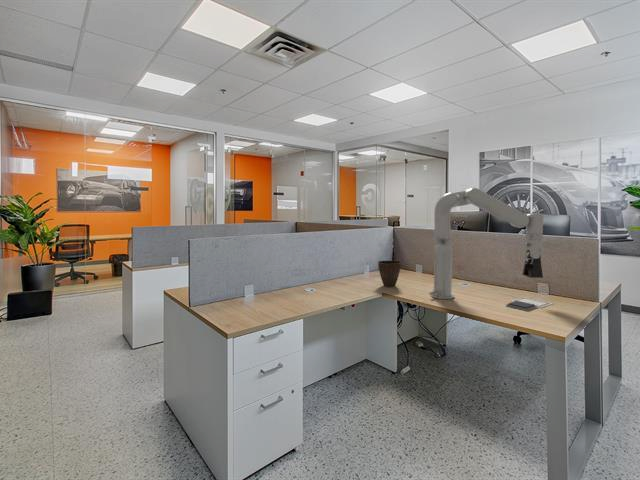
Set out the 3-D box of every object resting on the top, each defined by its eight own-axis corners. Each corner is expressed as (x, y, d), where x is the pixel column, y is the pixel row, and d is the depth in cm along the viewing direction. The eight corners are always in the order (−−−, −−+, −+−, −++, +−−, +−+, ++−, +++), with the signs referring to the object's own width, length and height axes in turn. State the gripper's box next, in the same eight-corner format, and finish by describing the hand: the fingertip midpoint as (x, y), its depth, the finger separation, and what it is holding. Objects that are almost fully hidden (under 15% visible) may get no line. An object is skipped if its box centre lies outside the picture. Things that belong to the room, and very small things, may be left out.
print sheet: (540, 308, 168) (540, 307, 168) (510, 301, 181) (510, 300, 181) (552, 303, 175) (552, 303, 175) (522, 297, 188) (522, 297, 188)
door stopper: (542, 277, 171) (544, 254, 170) (530, 277, 172) (531, 254, 171) (534, 274, 180) (535, 252, 179) (522, 274, 181) (523, 252, 180)
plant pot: (374, 286, 219) (374, 262, 218) (383, 282, 231) (383, 259, 230) (395, 289, 211) (395, 264, 209) (404, 285, 223) (404, 261, 222)
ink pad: (526, 311, 163) (527, 307, 163) (506, 306, 172) (506, 303, 172) (536, 307, 169) (536, 304, 169) (516, 303, 177) (516, 300, 177)
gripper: (533, 238, 167) (531, 273, 168) (549, 236, 176) (547, 270, 177) (517, 237, 173) (516, 271, 175) (534, 235, 182) (532, 268, 184)
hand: (532, 270), depth 176 cm, fingers closed on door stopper, 5 cm apart
